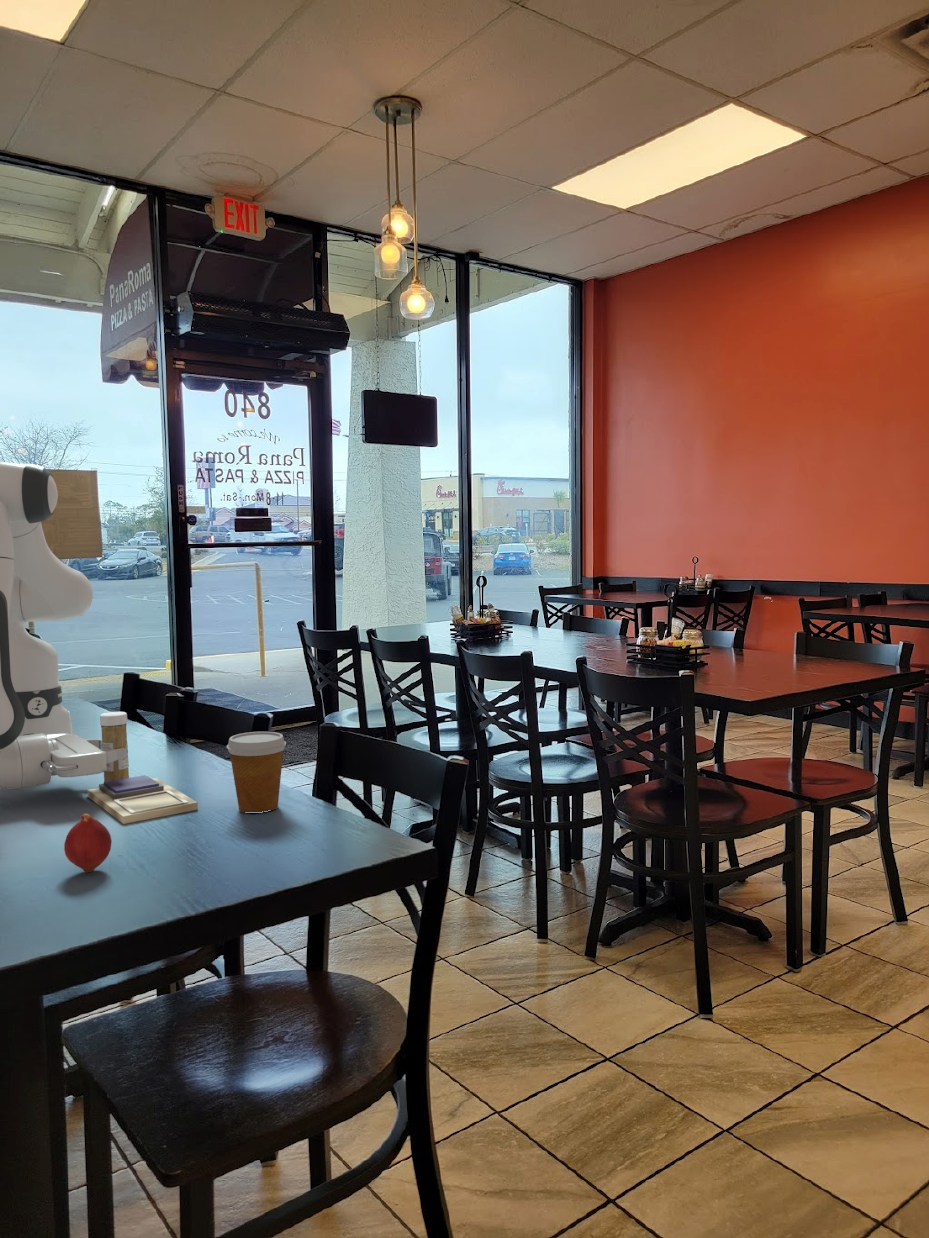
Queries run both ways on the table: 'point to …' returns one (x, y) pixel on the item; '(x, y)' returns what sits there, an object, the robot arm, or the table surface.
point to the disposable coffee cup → (257, 769)
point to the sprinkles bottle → (115, 743)
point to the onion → (87, 843)
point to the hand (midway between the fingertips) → (117, 747)
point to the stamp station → (140, 799)
